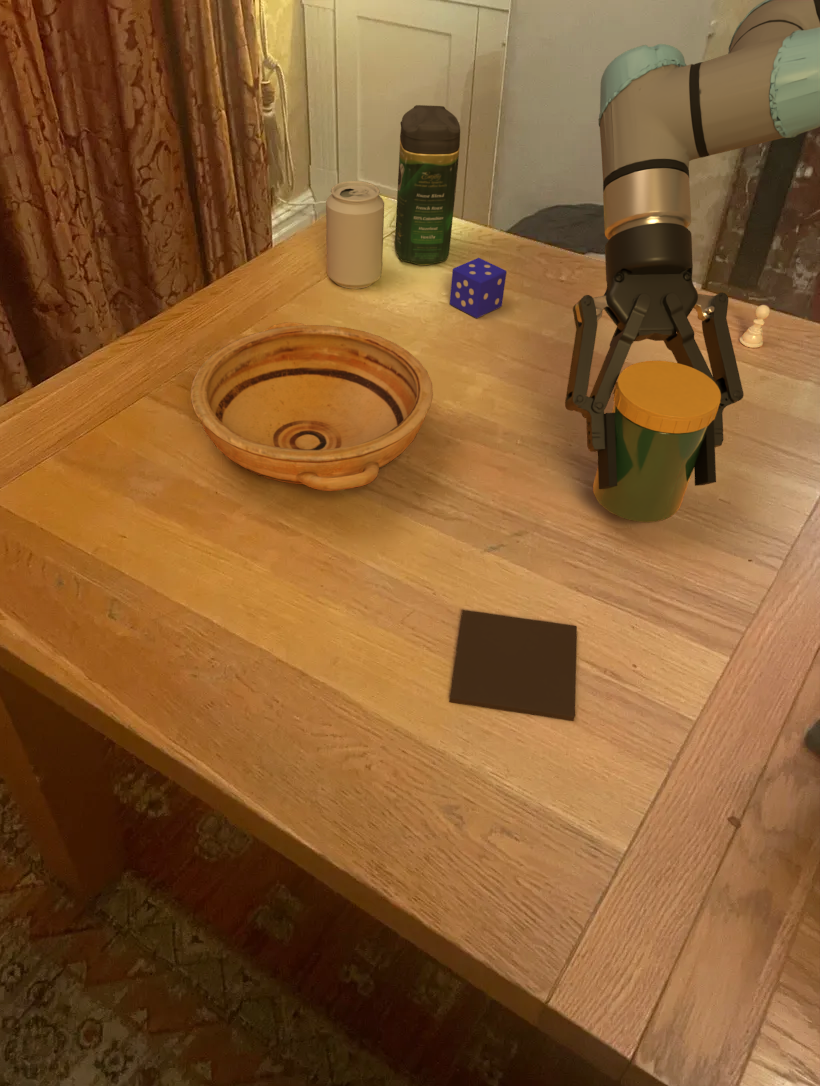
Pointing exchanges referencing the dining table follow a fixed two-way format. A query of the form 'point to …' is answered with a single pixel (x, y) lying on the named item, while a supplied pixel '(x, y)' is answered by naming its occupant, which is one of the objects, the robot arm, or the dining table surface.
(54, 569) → the dining table surface
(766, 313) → the chess pawn
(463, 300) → the die
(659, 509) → the jar
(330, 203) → the can
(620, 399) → the jar lid
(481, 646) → the coaster
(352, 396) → the ceramic bowl
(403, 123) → the coffee jar
